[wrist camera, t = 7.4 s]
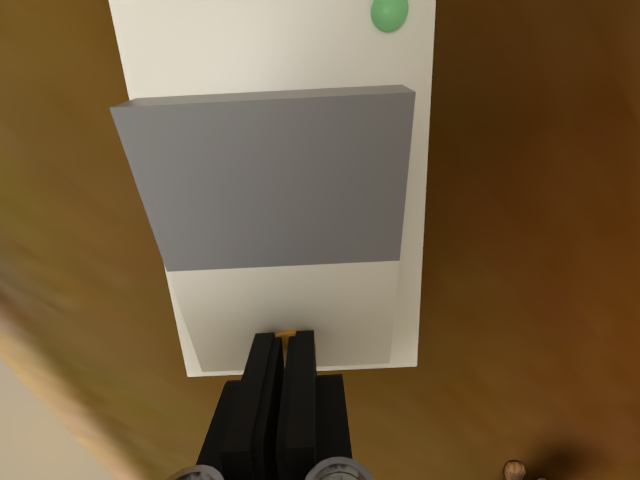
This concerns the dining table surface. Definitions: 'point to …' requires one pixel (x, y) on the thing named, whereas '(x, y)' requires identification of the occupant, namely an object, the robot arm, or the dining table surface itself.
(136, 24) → the strip
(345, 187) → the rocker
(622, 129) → the dining table surface
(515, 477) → the lion figurine
